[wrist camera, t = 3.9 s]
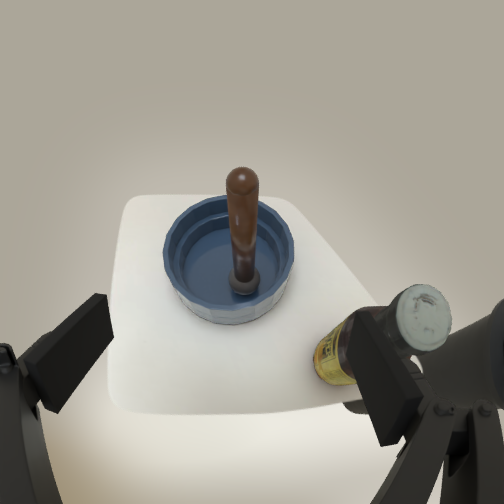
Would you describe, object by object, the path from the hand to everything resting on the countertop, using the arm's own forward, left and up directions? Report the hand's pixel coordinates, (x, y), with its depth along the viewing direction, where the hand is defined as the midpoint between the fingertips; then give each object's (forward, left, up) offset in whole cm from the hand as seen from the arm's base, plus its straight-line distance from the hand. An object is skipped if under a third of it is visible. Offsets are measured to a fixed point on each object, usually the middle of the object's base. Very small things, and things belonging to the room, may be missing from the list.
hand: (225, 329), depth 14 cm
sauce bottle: (-11, -1, -19) cm, 22 cm away
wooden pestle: (0, -10, -18) cm, 20 cm away
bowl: (+2, -12, -19) cm, 22 cm away
